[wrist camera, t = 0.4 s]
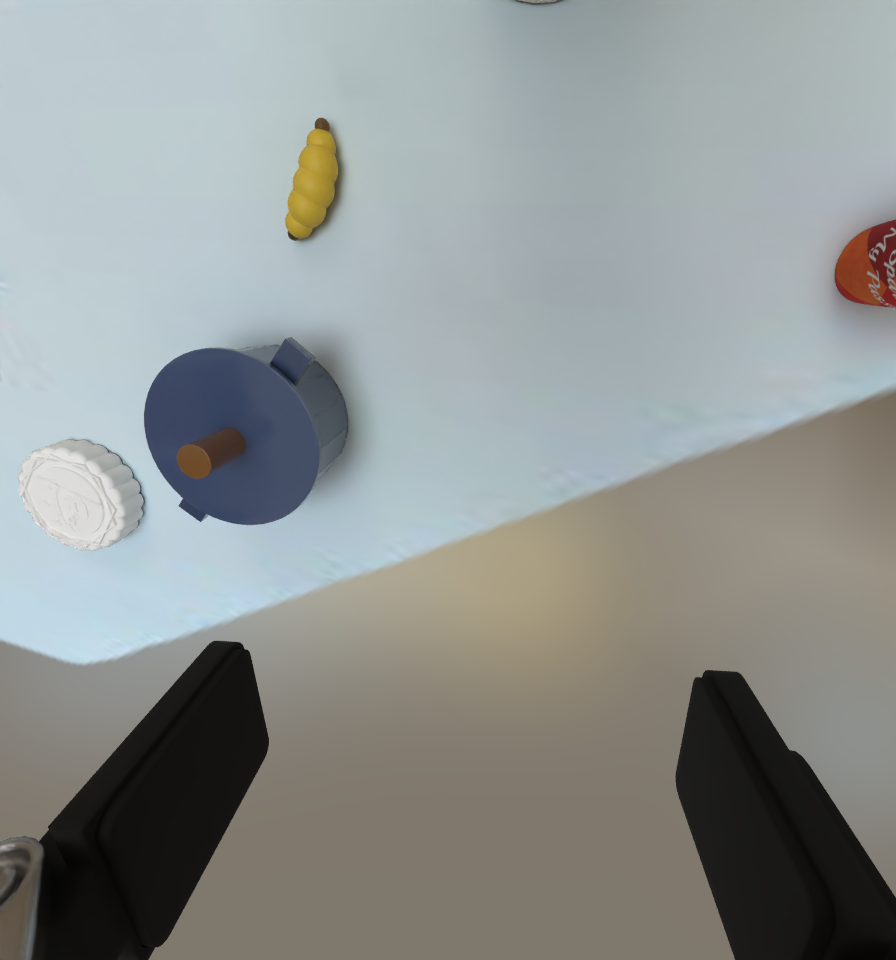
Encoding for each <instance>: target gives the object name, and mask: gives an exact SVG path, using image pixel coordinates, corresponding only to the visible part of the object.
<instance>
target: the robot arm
mask: <svg viewBox="0 0 896 960" xmlns="http://www.w3.org/2000/svg"><path fill="white" fill-rule="evenodd" d="M519 1H524V2H530V3H547V2H554V1H558V0H519ZM268 746H269V738H268V733H267V728H266V724H265V720H264V715H263V710H262V705H261V701H260V696H259V692H258V687H257V683H256V678H255V674H254V669H253V664H252V660H251V655H250V652H249V651H248V650H245V649H244V647H243V645H242V644H241V643H239V642H227V641H213V642H211V643H210V644H209V645H208V646H207V647H206V648H205V649H204V650H203V652H202V653H201V654H200V655H199V656H198V657H197V658H196V659H195V661H194V662H193V663H192V664H191V665H190V666H189V667H188V668H187V670H186V671H185V672H184V673H183V674H182V675H181V676H180V678H179V679H178V680H177V681H176V682H175V683H174V684H173V686H172V687H171V688H170V689H169V690H168V691H167V692H166V693H165V695H164V696H163V697H162V698H161V699H160V700H159V702H158V703H157V704H156V705H155V706H154V707H153V708H152V710H150V712H149V713H148V714H147V715H146V716H145V718H144V719H143V720H142V721H141V722H140V723H139V724H138V725H137V726H136V727H135V729H134V730H133V731H132V732H131V733H130V734H129V735H128V737H127V738H126V739H125V740H124V741H123V742H122V743H121V744H120V746H119V747H118V748H117V749H116V750H115V751H114V752H113V754H112V755H111V756H110V757H109V758H108V759H107V760H106V762H105V763H104V764H103V765H102V766H101V767H100V768H99V770H98V771H97V772H96V773H95V774H94V775H93V776H92V777H91V779H90V780H89V781H88V782H87V783H86V784H85V785H84V786H83V788H82V789H81V790H80V791H79V792H78V793H77V794H76V796H75V797H74V798H73V799H72V800H71V801H70V802H69V804H68V805H67V806H66V807H65V808H64V809H63V810H62V811H61V813H60V814H59V815H58V816H57V817H56V818H55V819H54V821H53V822H52V823H51V824H50V825H49V826H48V828H49V831H48V832H47V833H46V834H45V835H44V836H43V837H42V838H41V840H40V841H39V842H38V841H37V840H36V839H35V838H31V837H27V836H22V837H13V838H9V839H6V840H3V841H1V842H0V960H148V959H149V958H150V956H151V954H152V952H153V950H154V949H155V947H159V946H161V945H162V944H163V943H164V942H165V941H166V940H167V938H168V937H169V935H170V933H171V932H172V930H173V928H174V926H175V924H176V922H177V920H178V919H179V917H180V915H181V913H182V911H183V909H184V907H185V906H186V904H187V902H188V900H189V898H190V896H191V894H192V893H193V891H194V889H195V887H196V885H197V883H198V881H199V880H200V877H201V875H202V874H203V872H204V870H205V868H206V866H207V865H208V863H209V861H210V859H211V857H212V855H213V853H214V851H215V850H216V848H217V846H218V844H219V842H220V840H221V839H222V836H223V835H224V833H225V831H226V829H227V827H228V826H229V823H230V822H231V820H232V818H233V816H234V814H235V812H236V811H237V809H238V807H239V805H240V803H241V801H242V799H243V798H244V796H245V794H246V792H247V790H248V788H249V786H250V785H251V783H252V781H253V779H254V777H255V775H256V773H257V772H258V770H259V768H260V766H261V764H262V762H263V760H264V759H265V756H266V754H267V750H268ZM676 787H677V792H678V795H679V799H680V802H681V804H682V807H683V810H684V813H685V816H686V819H687V822H688V825H689V827H690V830H691V833H692V836H693V839H694V842H695V845H696V848H697V851H698V853H699V856H700V859H701V862H702V865H703V868H704V871H705V874H706V877H707V879H708V882H709V885H710V888H711V891H712V894H713V897H714V900H715V903H716V906H717V908H718V911H719V914H720V917H721V920H722V923H723V926H724V929H725V931H726V934H727V937H728V940H729V943H730V946H731V949H732V952H733V955H734V958H735V960H896V897H895V896H894V894H893V893H892V891H891V890H890V888H889V887H888V885H887V884H886V882H885V881H884V879H883V878H882V876H881V874H880V873H879V871H878V870H877V868H876V867H875V865H874V864H873V862H872V861H871V859H870V858H869V856H868V855H867V853H866V851H865V850H864V848H863V847H862V845H861V844H860V842H859V841H858V839H857V838H856V836H855V835H854V833H853V832H852V830H851V828H850V827H849V825H848V824H847V822H846V821H845V819H844V818H843V816H842V815H841V813H840V812H839V810H838V809H837V807H836V805H835V804H834V802H833V801H832V799H831V798H830V796H829V795H828V793H827V792H826V790H825V789H824V787H823V786H822V784H821V783H820V781H819V780H818V778H817V776H816V775H815V773H814V772H813V770H812V769H811V767H810V766H809V764H808V763H807V762H806V761H805V759H804V758H803V757H802V756H801V755H800V754H798V753H797V752H796V751H791V750H789V749H788V748H787V746H786V744H785V743H784V741H783V739H782V738H781V736H780V735H779V733H778V731H777V730H776V728H775V727H774V725H773V724H772V722H771V720H770V719H769V717H768V716H767V714H766V712H765V711H764V709H763V708H762V706H761V705H760V703H759V701H758V700H757V698H756V697H755V695H754V694H753V692H752V690H751V689H750V687H749V685H748V684H747V682H746V681H745V679H744V678H743V676H742V675H741V674H740V673H738V672H730V671H713V670H707V671H705V672H704V673H703V676H702V678H700V677H696V678H695V679H694V682H693V686H692V692H691V697H690V703H689V707H688V712H687V718H686V723H685V728H684V734H683V738H682V744H681V749H680V755H679V759H678V765H677V770H676Z"/></svg>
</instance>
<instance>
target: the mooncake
mask: <svg viewBox="0 0 896 960" xmlns="http://www.w3.org/2000/svg"><path fill="white" fill-rule="evenodd" d="M132 477H133V474H132V471H131V469H130V468H129V467H127V466H126V465H122V462H121V459H120V458H119V457H118V456H117V455H115V454H113V453H108V451H107V450H106V448H104V447H103V446H101V445H92V444H91V443H90V442H89V441H86V440H79V441H74V440H65V441H62V442H59V443H56V444H53V445H50V446H46V447H44V448H42V449H39V450H36V451H33V452H32V453H31V454H30V456H29V458H28V459H25V460H24V461H23V462H22V471H20V472H19V474H18V480H19V482H20V483H21V485H20V487H19V493H20V495H21V497H22V498H23V499H24V507H25V508H26V510H27V511H28V512H30V513H32V518H33V520H34V522H35V523H36V524H37V525H38V526H39V527H42V528H44V530H45V532H46V533H47V534H48V535H49V536H51V537H53V538H57V539H58V540H59V541H60V542H61V543H62V544H64V545H73V546H74V547H75V548H76V549H79V550H84V549H87V548H88V549H90V550H99V549H101V548H102V547H109V546H111V545H113V544H114V543H116V542H118V541H119V540H121V539H122V538H124V537H126V536H127V535H128V534H129V533H130V532H131V531H133V530H134V529H136V528H137V526H138V520H139V519H141V518H142V516H143V510H142V508H141V507H142V505H143V503H144V500H143V497H142V495H141V494H140V493H139V491H140V485H139V483H138V482H137V481H136V480H135V479H133V478H132Z"/></svg>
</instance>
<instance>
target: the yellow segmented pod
mask: <svg viewBox="0 0 896 960" xmlns="http://www.w3.org/2000/svg"><path fill="white" fill-rule="evenodd" d="M329 129H330V127H329V123H328V122H327V120H325V119H324V118H318V119H317V120H316V122H315V129H314V130H312V131H311V132H310V133H309V135H308V137H307V146H306V147H305V148H304V149H303V150H302V152H301V154H300V157H299V169H298V170H297V171H296V173H295V175H294V178H293V190H292V191H291V193H290V195H289V198H288V209H289V212H288V214H287V215H286V219H285V223H286V227H287V230H288V236H289V238H290V239H291V240H294V241H296V240H298V239H299V238H300V239H303V238H306V237H308V236H309V235H310V234H311V233H312V230H313V227H317V226H318V225H320V224H321V223H322V222H323V220H324V219H325V216H326V211H327V207H328V206H329V205H330V204H331V203H332V201H333V199H334V195H335V186H334V183H335V181H336V179H337V176H338V163H337V160H336V157H335V156H334V155H335V152H336V144H335V140H334V138H333V136H332V135H331V134H330V133H329Z"/></svg>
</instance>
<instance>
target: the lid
mask: <svg viewBox="0 0 896 960" xmlns="http://www.w3.org/2000/svg"><path fill="white" fill-rule="evenodd" d="M144 426H145V433H146V439H147V442H148V446H149V449H150V452H151V454H152V457H153V459H154V461H155V463H156V465H157V467H158V469H159V470H160V472H161V473H162V475H163V476H164V478H165V479H166V480H167V482H168V483H169V484H170V485H171V487H172V488H173V489H174V490H175V491H176V492H177V493H178V494H179V495H180V496H181V497H182V498H184V499H185V500H186V501H187V502H188V503H190V504H191V505H193V506H194V507H196V508H197V509H199V510H200V511H202V512H204V513H206V514H208V515H210V516H212V517H214V518H217V519H220V520H223V521H226V522H230V523H235V524H242V525H256V524H265V523H269V522H273V521H276V520H278V519H281V518H283V517H285V516H286V515H288V514H290V513H291V512H293V511H294V510H295V509H296V508H298V507H299V506H300V505H301V504H302V503H303V501H304V500H305V499H306V498H307V497H308V496H309V494H310V492H311V491H312V489H313V487H314V485H315V483H316V481H317V478H318V475H319V471H320V466H321V440H320V434H319V430H318V426H317V423H316V420H315V418H314V415H313V413H312V411H311V409H310V407H309V405H308V403H307V402H306V400H305V398H304V397H303V396H302V394H301V393H300V391H299V390H298V389H297V388H296V387H295V385H294V384H293V383H292V382H291V381H290V380H289V379H288V378H287V377H286V376H285V375H284V374H283V373H281V372H280V371H279V370H278V369H276V368H275V367H273V366H272V365H271V364H269V363H268V362H266V361H264V360H262V359H260V358H258V357H256V356H254V355H251V354H249V353H246V352H243V351H239V350H235V349H229V348H205V349H199V350H194V351H191V352H188V353H185V354H183V355H181V356H179V357H177V358H175V359H174V360H172V361H171V362H170V363H169V364H167V365H166V366H165V367H164V368H163V369H162V370H161V371H160V373H159V374H158V375H157V377H156V378H155V380H154V381H153V383H152V385H151V387H150V390H149V392H148V395H147V399H146V403H145V411H144Z"/></svg>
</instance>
